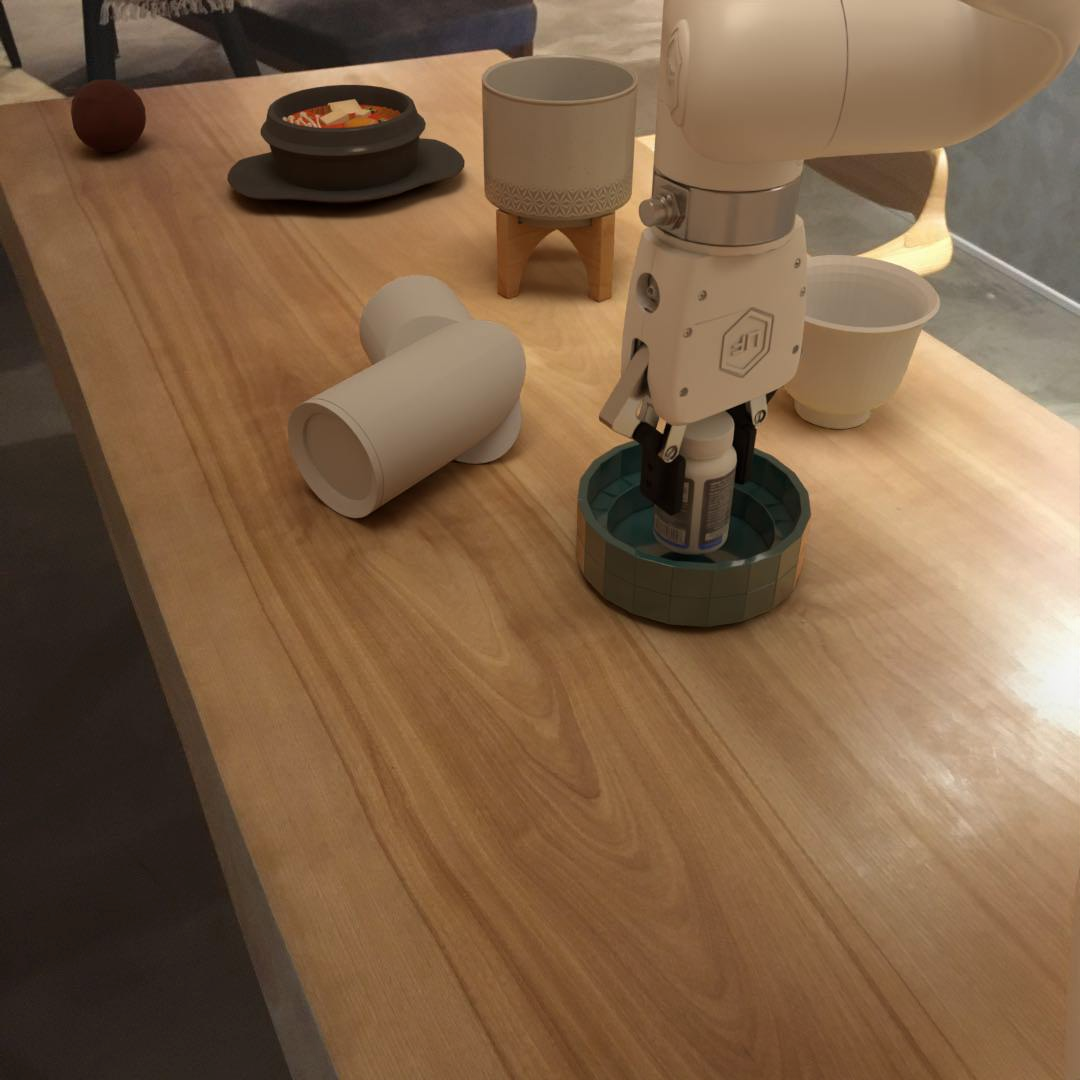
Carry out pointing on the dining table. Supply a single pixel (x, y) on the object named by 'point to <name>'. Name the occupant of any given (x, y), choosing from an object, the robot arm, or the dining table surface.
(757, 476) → the bowl
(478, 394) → the beige tubular fitting
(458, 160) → the casserole
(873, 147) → the robot arm
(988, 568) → the dining table surface
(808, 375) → the teacup
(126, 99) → the dark brown ball
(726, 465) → the pill bottle
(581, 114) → the planter
